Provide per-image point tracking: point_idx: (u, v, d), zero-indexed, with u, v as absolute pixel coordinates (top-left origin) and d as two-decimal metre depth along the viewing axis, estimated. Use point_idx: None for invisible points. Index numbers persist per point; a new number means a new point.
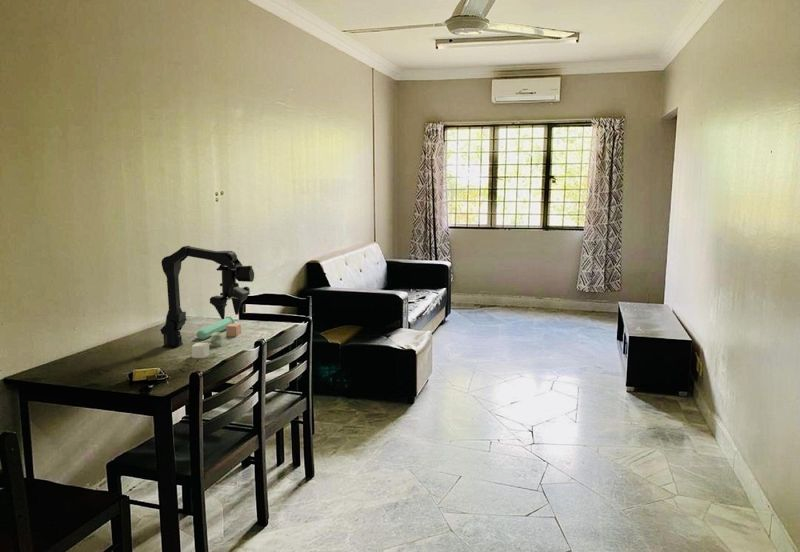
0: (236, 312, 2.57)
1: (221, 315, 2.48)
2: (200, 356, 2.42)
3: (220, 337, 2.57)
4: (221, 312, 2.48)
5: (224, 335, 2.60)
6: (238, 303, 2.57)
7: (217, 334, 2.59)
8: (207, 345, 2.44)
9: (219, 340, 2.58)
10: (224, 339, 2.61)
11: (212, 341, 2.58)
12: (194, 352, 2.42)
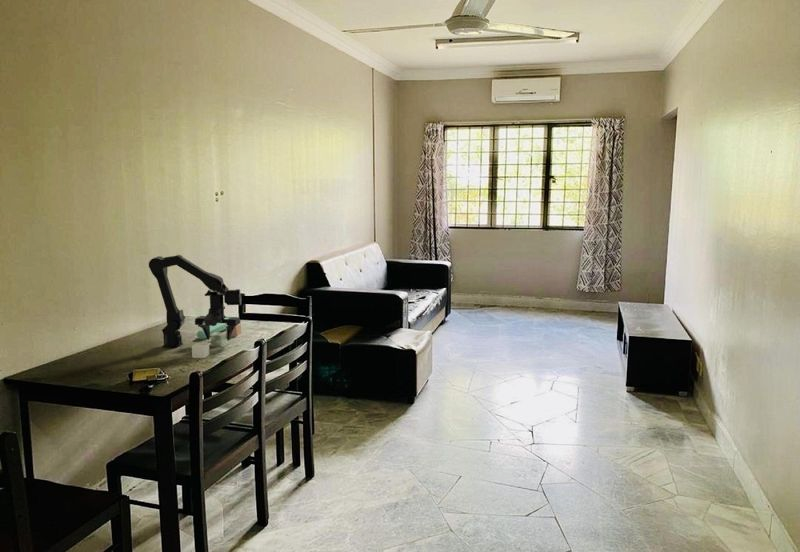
0: None
1: None
2: (200, 356, 2.42)
3: (220, 337, 2.57)
4: None
5: (224, 335, 2.60)
6: None
7: (217, 334, 2.59)
8: (207, 345, 2.44)
9: (219, 340, 2.58)
10: (224, 339, 2.61)
11: (212, 341, 2.58)
12: (194, 352, 2.42)
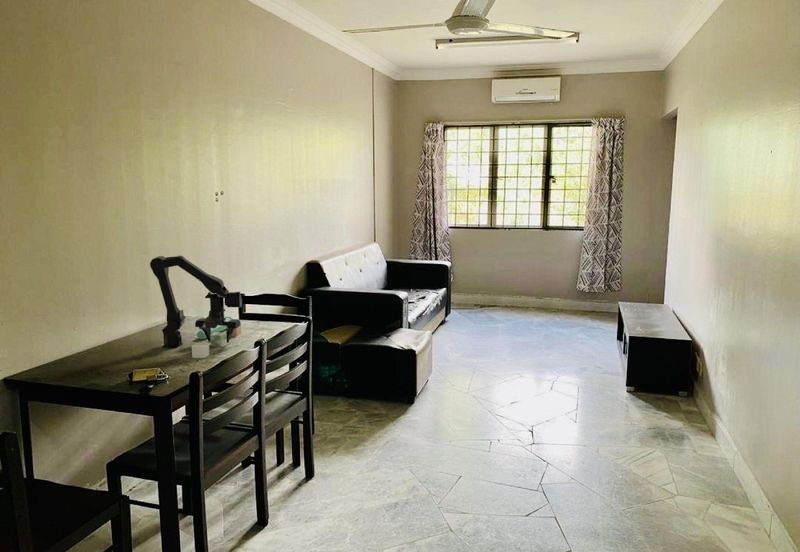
0: None
1: None
2: (200, 356, 2.42)
3: (220, 337, 2.57)
4: None
5: (224, 335, 2.60)
6: None
7: (217, 334, 2.59)
8: (207, 345, 2.44)
9: (219, 340, 2.58)
10: (224, 339, 2.61)
11: (212, 341, 2.58)
12: (194, 352, 2.42)
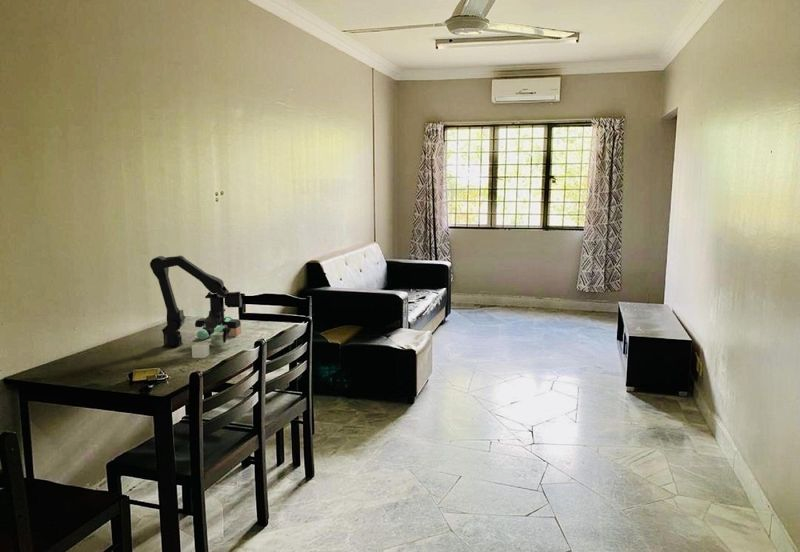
0: None
1: None
2: (200, 356, 2.42)
3: (220, 337, 2.57)
4: None
5: None
6: None
7: (217, 334, 2.59)
8: (207, 345, 2.44)
9: (219, 340, 2.58)
10: None
11: (212, 341, 2.58)
12: (194, 352, 2.42)
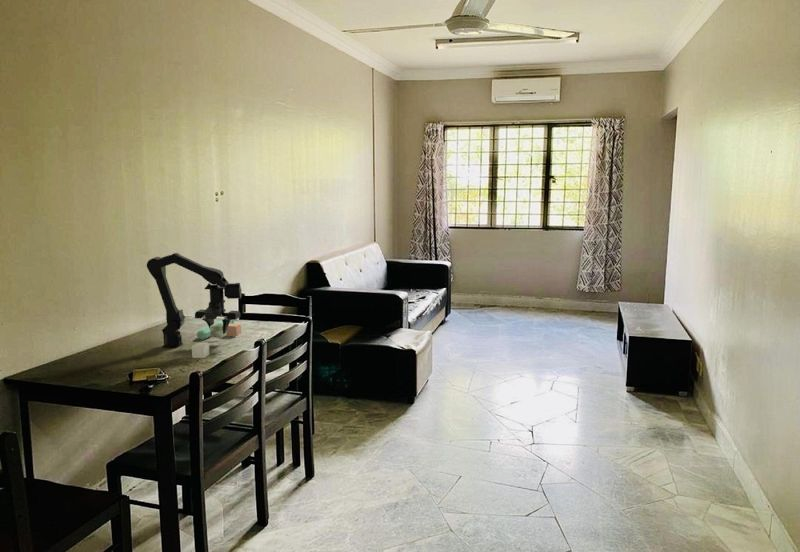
0: None
1: None
2: (200, 356, 2.42)
3: (220, 328, 2.57)
4: None
5: None
6: None
7: (217, 325, 2.58)
8: (207, 345, 2.44)
9: (218, 332, 2.57)
10: None
11: (212, 332, 2.58)
12: (194, 352, 2.42)
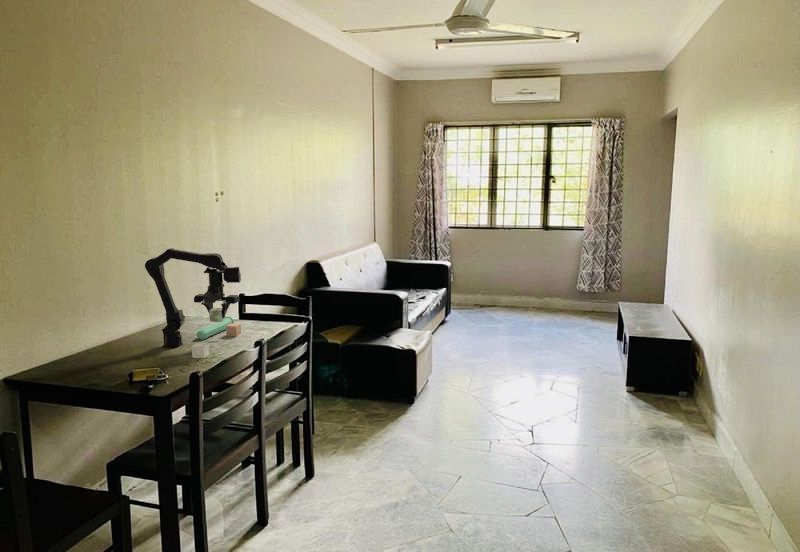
0: None
1: None
2: (200, 356, 2.42)
3: (219, 312, 2.56)
4: None
5: None
6: None
7: (216, 309, 2.57)
8: (207, 345, 2.44)
9: (217, 316, 2.56)
10: None
11: (211, 316, 2.56)
12: (194, 352, 2.42)
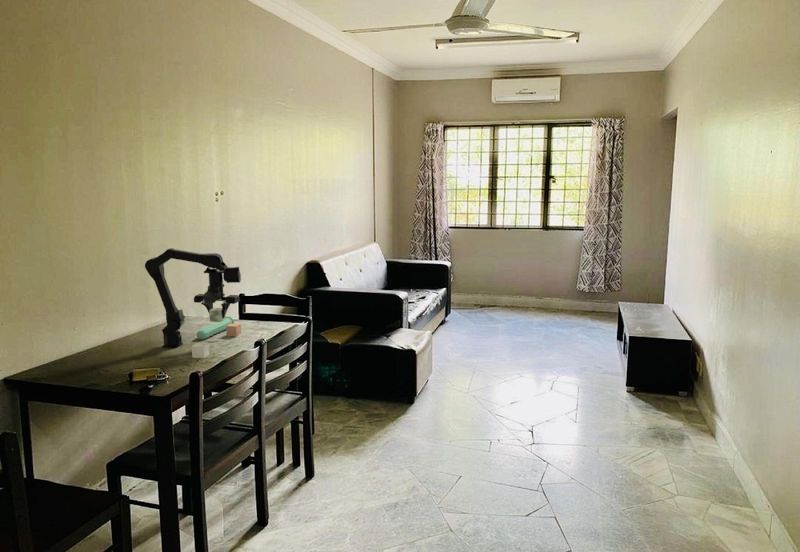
0: None
1: None
2: (200, 356, 2.42)
3: (219, 312, 2.56)
4: None
5: None
6: None
7: (216, 309, 2.57)
8: (207, 345, 2.44)
9: (217, 316, 2.56)
10: None
11: (211, 316, 2.56)
12: (194, 352, 2.42)
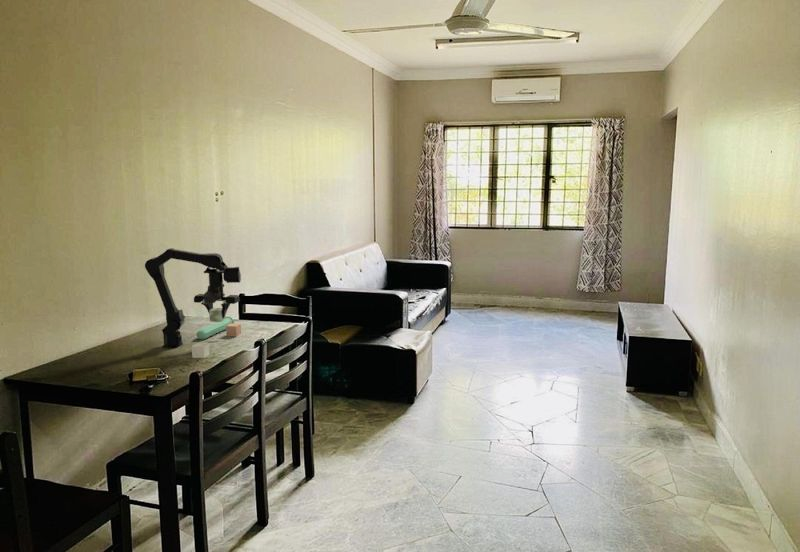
0: None
1: None
2: (200, 356, 2.42)
3: (219, 312, 2.56)
4: None
5: None
6: None
7: (216, 309, 2.57)
8: (207, 345, 2.44)
9: (217, 316, 2.56)
10: None
11: (211, 316, 2.56)
12: (194, 352, 2.42)
